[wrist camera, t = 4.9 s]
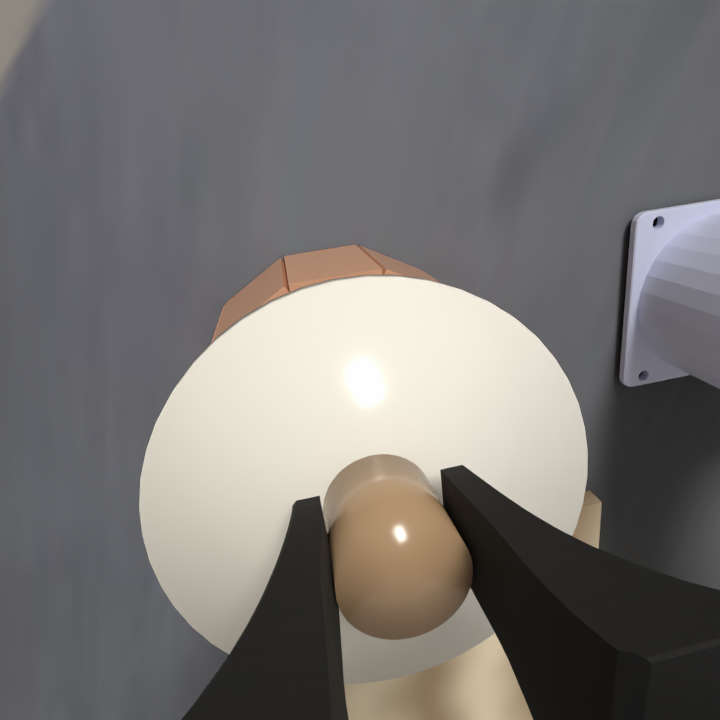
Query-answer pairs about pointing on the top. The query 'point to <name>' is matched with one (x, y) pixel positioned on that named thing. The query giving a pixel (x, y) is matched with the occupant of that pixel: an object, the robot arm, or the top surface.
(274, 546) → the lid
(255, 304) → the bowl
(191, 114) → the top surface
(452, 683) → the board
